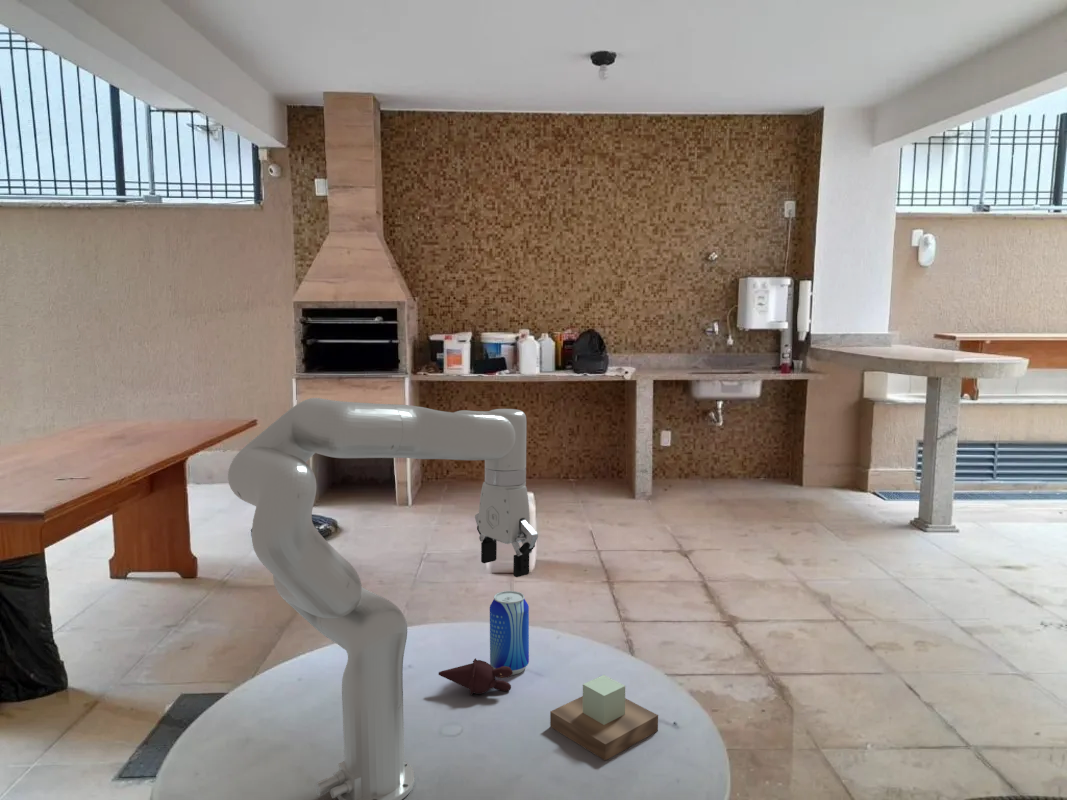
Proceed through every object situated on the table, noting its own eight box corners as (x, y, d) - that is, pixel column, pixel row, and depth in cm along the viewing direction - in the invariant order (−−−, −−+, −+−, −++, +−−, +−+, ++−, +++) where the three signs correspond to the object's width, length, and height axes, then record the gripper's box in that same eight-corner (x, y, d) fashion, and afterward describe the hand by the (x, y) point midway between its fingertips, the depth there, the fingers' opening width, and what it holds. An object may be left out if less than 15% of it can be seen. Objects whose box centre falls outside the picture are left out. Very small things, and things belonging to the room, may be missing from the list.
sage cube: (604, 724, 131) (604, 695, 131) (582, 712, 135) (582, 684, 135) (625, 714, 135) (625, 685, 134) (603, 702, 139) (603, 674, 138)
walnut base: (605, 760, 126) (605, 744, 125) (550, 726, 136) (550, 711, 136) (657, 730, 135) (658, 715, 134) (602, 700, 145) (602, 686, 145)
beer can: (484, 663, 161) (483, 593, 160) (519, 655, 165) (519, 587, 163) (498, 680, 154) (498, 606, 152) (535, 671, 157) (535, 600, 155)
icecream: (435, 672, 144) (511, 679, 144) (442, 646, 151) (514, 653, 151) (434, 699, 147) (509, 707, 146) (440, 673, 153) (512, 680, 153)
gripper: (461, 471, 138) (461, 560, 139) (519, 488, 125) (518, 585, 126) (493, 467, 142) (492, 553, 144) (552, 482, 129) (550, 576, 131)
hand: (504, 568), depth 135 cm, fingers open, 9 cm apart
